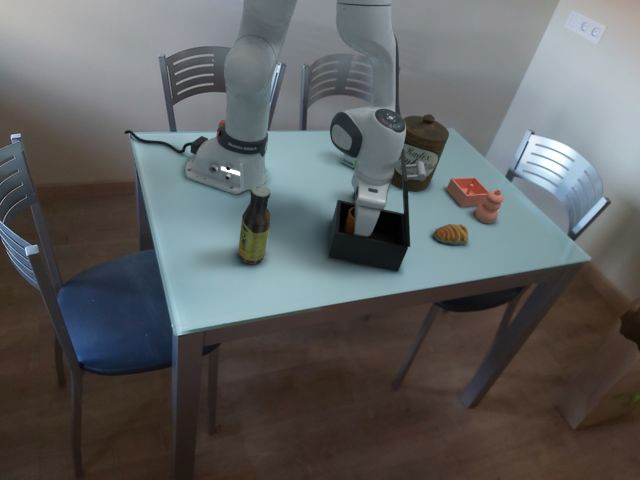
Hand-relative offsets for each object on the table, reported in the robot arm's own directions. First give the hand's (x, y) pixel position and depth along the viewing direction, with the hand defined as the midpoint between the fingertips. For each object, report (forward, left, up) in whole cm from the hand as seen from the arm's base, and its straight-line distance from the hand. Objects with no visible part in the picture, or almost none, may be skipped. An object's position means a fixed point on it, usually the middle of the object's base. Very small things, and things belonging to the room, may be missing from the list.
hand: (357, 225), depth 117 cm
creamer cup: (0, 0, -2) cm, 2 cm away
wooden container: (+17, +38, -6) cm, 42 cm away
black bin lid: (+9, 0, +11) cm, 14 cm away
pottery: (+38, +30, -6) cm, 49 cm away
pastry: (+28, +11, -6) cm, 31 cm away
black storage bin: (+3, 0, -6) cm, 7 cm away
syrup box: (-1, +40, -6) cm, 40 cm away
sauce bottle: (-24, -12, -6) cm, 27 cm away
